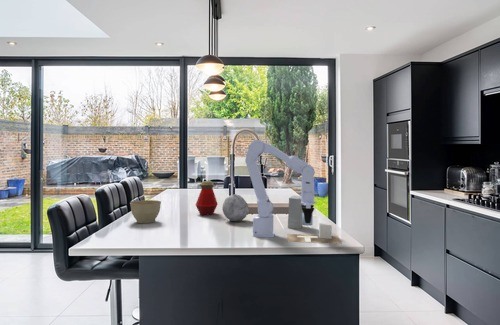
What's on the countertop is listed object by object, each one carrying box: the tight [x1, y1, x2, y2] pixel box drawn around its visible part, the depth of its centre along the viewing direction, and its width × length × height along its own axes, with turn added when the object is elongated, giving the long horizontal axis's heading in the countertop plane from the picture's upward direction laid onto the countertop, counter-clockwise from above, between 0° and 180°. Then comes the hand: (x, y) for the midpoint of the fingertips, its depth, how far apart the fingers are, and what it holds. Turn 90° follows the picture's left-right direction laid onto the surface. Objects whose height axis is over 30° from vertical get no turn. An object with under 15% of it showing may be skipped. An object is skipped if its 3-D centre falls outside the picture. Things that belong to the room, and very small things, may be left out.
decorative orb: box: [221, 193, 250, 222], centre depth 198 cm, size 15×14×15 cm
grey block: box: [318, 222, 333, 239], centre depth 160 cm, size 5×5×6 cm
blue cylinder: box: [302, 213, 314, 227], centre depth 161 cm, size 4×4×5 cm
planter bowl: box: [129, 199, 162, 224], centre depth 195 cm, size 16×16×11 cm
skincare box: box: [287, 195, 304, 230], centre depth 182 cm, size 8×7×16 cm
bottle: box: [195, 180, 218, 216], centre depth 219 cm, size 16×14×20 cm
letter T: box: [297, 236, 318, 243], centre depth 158 cm, size 9×10×1 cm
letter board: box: [286, 233, 342, 244], centre depth 158 cm, size 23×14×1 cm, turn 83°
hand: (307, 221), depth 161 cm, fingers closed on blue cylinder, 4 cm apart
